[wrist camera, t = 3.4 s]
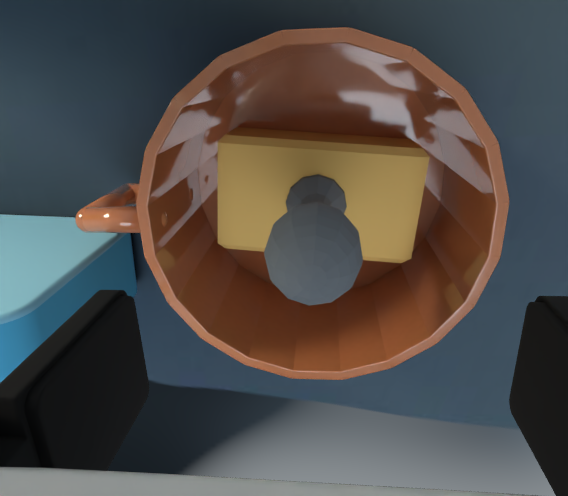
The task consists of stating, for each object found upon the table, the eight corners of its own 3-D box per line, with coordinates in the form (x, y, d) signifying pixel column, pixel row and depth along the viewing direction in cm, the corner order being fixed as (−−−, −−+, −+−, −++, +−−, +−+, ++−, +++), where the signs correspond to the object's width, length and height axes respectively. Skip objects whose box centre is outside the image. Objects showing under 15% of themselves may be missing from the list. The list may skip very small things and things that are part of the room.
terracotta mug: (466, 36, 22) (540, 18, 14) (437, 298, 27) (480, 384, 20) (111, 50, 23) (12, 41, 16) (150, 295, 29) (91, 373, 21)
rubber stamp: (230, 226, 26) (161, 341, 15) (231, 126, 24) (151, 173, 13) (399, 240, 26) (457, 370, 14) (416, 138, 23) (500, 200, 12)
